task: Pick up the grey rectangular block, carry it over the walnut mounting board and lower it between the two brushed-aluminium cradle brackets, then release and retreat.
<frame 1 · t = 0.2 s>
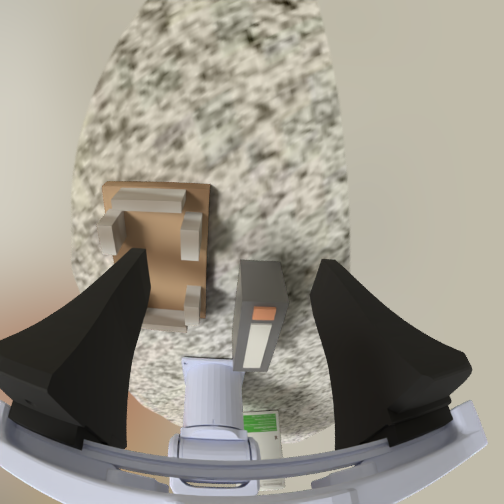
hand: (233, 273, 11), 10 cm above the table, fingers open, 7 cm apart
mounting board: (160, 254, 22), on the table
grey rectangular block: (252, 301, 26), on the table
skincare box: (255, 415, 45), on the table
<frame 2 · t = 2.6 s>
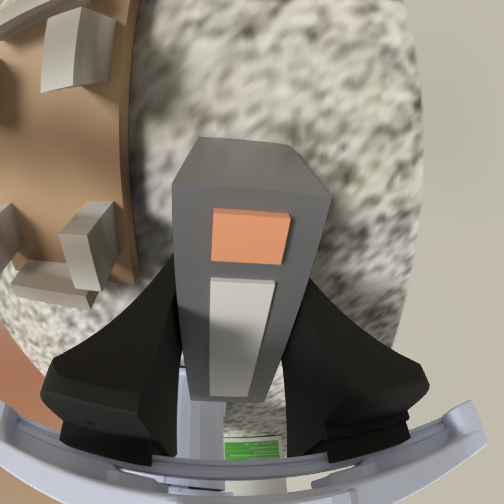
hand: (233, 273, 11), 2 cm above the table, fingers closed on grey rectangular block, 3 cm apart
mounting board: (49, 144, 9), on the table
grey rectangular block: (232, 250, 12), on the table, touching gripper
skincare box: (250, 441, 31), on the table
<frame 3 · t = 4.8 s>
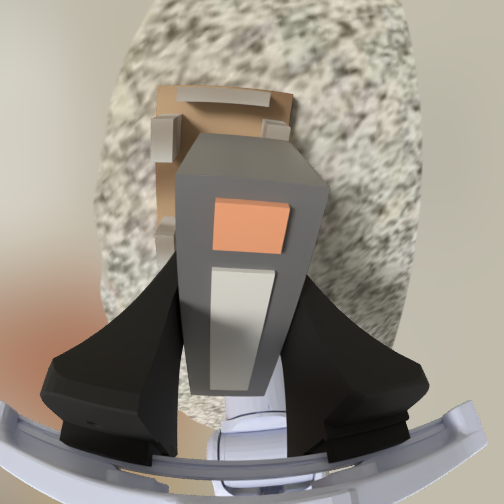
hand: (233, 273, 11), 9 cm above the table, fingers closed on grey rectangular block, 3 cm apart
mounting board: (217, 181, 18), on the table
grey rectangular block: (233, 245, 13), point 7 cm above the table, touching gripper
when the fingers open (4 cm above the table, at t = 6.9 s): grey rectangular block stays where it is, resting on mounting board.
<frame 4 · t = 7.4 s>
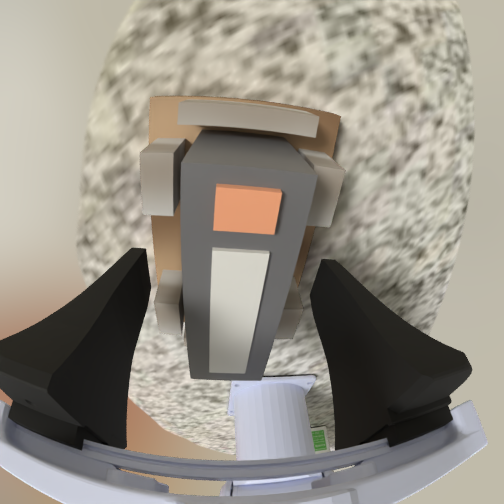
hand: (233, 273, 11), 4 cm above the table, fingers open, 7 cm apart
mounting board: (232, 226, 14), on the table
grey rectangular block: (232, 235, 13), point 1 cm above the table, touching mounting board
skincare box: (297, 433, 37), on the table
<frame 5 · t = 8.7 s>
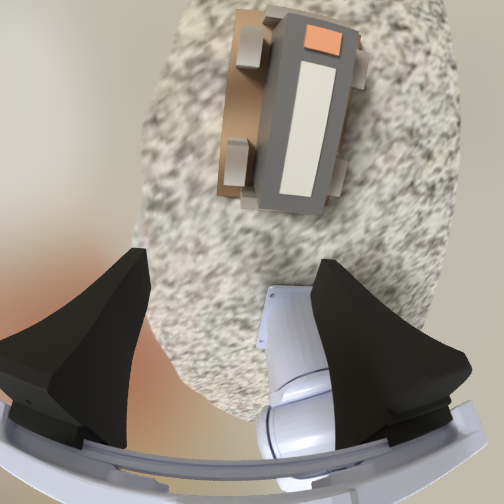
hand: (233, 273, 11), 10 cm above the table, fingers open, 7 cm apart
mounting board: (286, 107, 16), on the table
grey rectangular block: (288, 107, 15), point 1 cm above the table, touching mounting board
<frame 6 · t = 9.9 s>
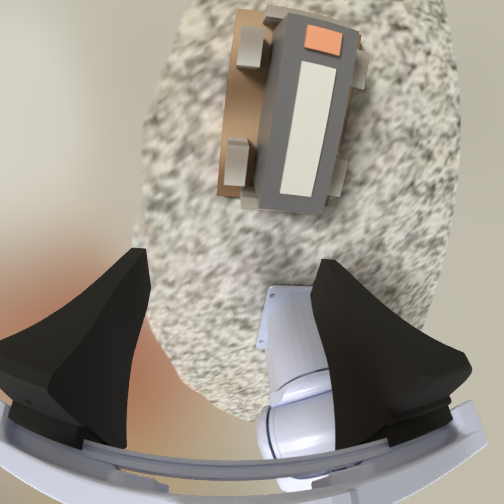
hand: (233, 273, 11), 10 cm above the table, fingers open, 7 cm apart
mounting board: (286, 107, 16), on the table
grey rectangular block: (289, 107, 15), point 1 cm above the table, touching mounting board
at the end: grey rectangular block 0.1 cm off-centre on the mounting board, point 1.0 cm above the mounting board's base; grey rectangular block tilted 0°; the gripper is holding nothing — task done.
